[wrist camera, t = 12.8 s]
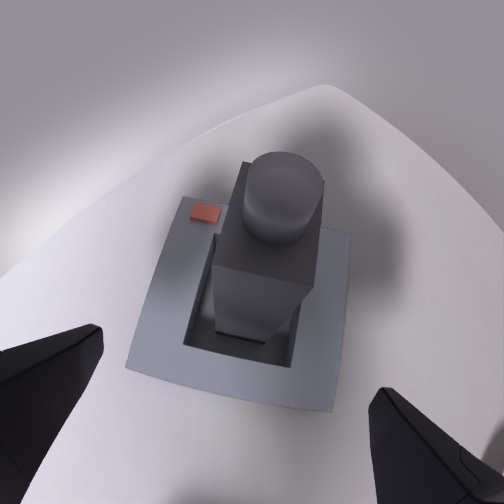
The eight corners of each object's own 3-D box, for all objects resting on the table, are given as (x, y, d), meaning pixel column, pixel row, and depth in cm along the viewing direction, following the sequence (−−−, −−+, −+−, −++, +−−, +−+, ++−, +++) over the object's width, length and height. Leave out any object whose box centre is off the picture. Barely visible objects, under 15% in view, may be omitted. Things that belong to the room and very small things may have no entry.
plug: (264, 344, 19) (335, 259, 7) (216, 333, 19) (209, 230, 7) (276, 283, 21) (340, 143, 9) (231, 273, 21) (247, 121, 9)
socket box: (314, 409, 18) (334, 412, 15) (140, 372, 18) (122, 367, 15) (334, 255, 23) (352, 231, 20) (187, 222, 23) (182, 192, 20)
